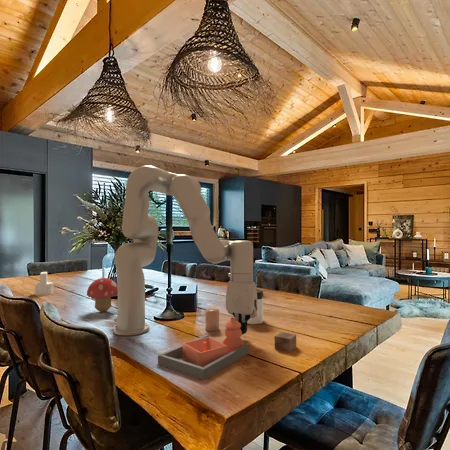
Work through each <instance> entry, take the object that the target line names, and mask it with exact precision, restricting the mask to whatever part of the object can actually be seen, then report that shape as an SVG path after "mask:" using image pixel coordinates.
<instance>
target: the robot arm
mask: <svg viewBox="0 0 450 450" xmlns="http://www.w3.org/2000/svg"><path fill="white" fill-rule="evenodd" d="M150 191H152V192H156V193H160V194H164V195H168V196H170V197H173V198H174V199H175V201H176V203H177V204H178V206H179V208H180V210H181V211H182V213H183V214H184V217H185V218H186V220H187V222H188V228H189V230H190V234H191V237H192V239H193V242H194V244H195V246H197V248H198V250H199V252H200V254H201V255H202V256H203V258H204V259H205V260H206V261H207V262H208V263H210V264H214V265H216V264H219V263H222V262H223V263H224V262H226V261H230V272H229V273H228V274H227V277H228V278H229V279H230V280H229V281H228V283H227V286H226V287H227V288H226V291H225V292H226V294H225V309H226V311H227V313H228V314H230V315H232V316H233V318H236V321H238V322H239V323H241V327H240V329H241V331H242V335H244V334H247V332H248V323H247V321H248V320H249V319H250V318H255V317H257V313H256V311H257V308H258V302H257V291H256V288H257V286H256V282H255V281H254V282H253V257H254V243H253V242H252V241H250V240H246V239H245V240H243V239H242V240H237V239H236V240H227V239H219V236H218V235H217V233H216V232H215V230H214V227H213V225H212V223H211V219H210V217H211V216H210V215H211V210H210V207H209V205H208V203H207V202H206V200H205V198H204V197H203V196H202V194H201V192H202V186H201V183H200V182H199V180H197V179H196V178H194V177H193V176H190V175H188V174H182V173H181V174H177V173H173V172H170V171H167V170H164V169H162V168H159V167H157V166H154V165H141V166H139V167H137V168H135V169H134V170H132V171H131V172H130V174H129V175H128V178H127V180H126V186H125V201H124V207H123V215H122V225H121V232H122V234H123V236H124V237H125V238H127V239H129V240H134V241H133V242H127V243H123V244H121V245H120V246H119V247H118V248H117V249H116V251H115V253H114V263H115V268H116V269H115V270H116V278H117V282H116V284H117V288H118V295H117V316H116V317H114V318H113V320H112V321H113V322H114V323H116V326H114V327H113V328H112V331H113V332H112V333H113V334H115V335H117V336H124V337H125V336H135V335H136V336H137V335H141V334H144V333H147V332H148V331H150V325H149V324H148V323H146V302H145V301H146V286H145V284H146V280H145V274H144V271H143V267H144V268H145V267H147V266H149V265H150V264H152V263H153V261H154V260H155V257H156V253H157V245H158V237H159V224H158V220H157V219H156V218H155V217H154V216H153V215H151V214H149V208H150V197H149V192H150ZM242 335H241V336H242Z"/></svg>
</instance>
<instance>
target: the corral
mask: <svg viewBox="0 0 450 450" xmlns="http://www.w3.org/2000/svg"><path fill="white" fill-rule="evenodd" d="M206 337H210V334H204V335H203V336H200V337H198V338H195V339H193V340H192V339H191V341H194V340H198V339H202V338H206ZM249 354H250V344H249V343H244V345H243V346H241V347H239V348H237V349H236V350H234V351H232V352H230V353H228V354H226V355H225V356H223V357H221V358H219V359H217V360H215V361H213V362H212V363H210V364H208V365H206V366H204V367H201V366H197V365H194V364H192V363H191V362H189V361H188V362H187V361H185V360H181V359H178V358H179V357H181V356H182V357H183V344H181V345H179V346H176V347H174V348H171V349H169V350H166V351H164V352H162V353H159V354H157V365H159V366H161V367H165V368H168V369H171V370H173V371H176V372H180V373H181V374H186V375H188V376H191V377H194V378H197V379H199V380H202V381H203V380H206V379H208V378H209V377H211V376H213V375H214V374H216V373H218V372H220V371H221V370H223V369H225V368H227V367H228V366H230V365H231V364H233V363H235V362H236V361H238V360H240V359H242V358H243V357H245V356H247V355H249Z"/></svg>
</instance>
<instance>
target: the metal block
mask: <svg viewBox="0 0 450 450" xmlns="http://www.w3.org/2000/svg"><path fill="white" fill-rule="evenodd" d="M296 348H297V334H296V333H290V332H285V331H281V332H279V333H277V334H276V335H274V350H279V351H284V352H288V353H291V352H293V351H294V349H296Z"/></svg>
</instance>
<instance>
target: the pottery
mask: <svg viewBox="0 0 450 450" xmlns="http://www.w3.org/2000/svg"><path fill="white" fill-rule="evenodd" d="M224 327H225V330H224V335H225V338H224V339H223V342H221V341H219V340H217V339H215V338H213V337H210V336H209V337H206V338H202V339H198V340H195V339H193V340H194V341H192V340H191V341H186V342H182V345H183V355H182V358H183V359H184V360H186V361H188V363H191V364H194V365H197V366H201V367H204V366H206V365H208V364H210V363H212V362H213V361H215V360H217V359H219V358H221V357H223V356H225V355H226V354H228V353H230V352H232V351H234V350H236V349H237V348H239V347H241V346H243V345H245V343H244V340H243V338H241V336H242V331H241V329H240V327H241V323H239V322H238V321H236V318H235V317H230V320H229V321H227V322H225V324H224Z"/></svg>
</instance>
